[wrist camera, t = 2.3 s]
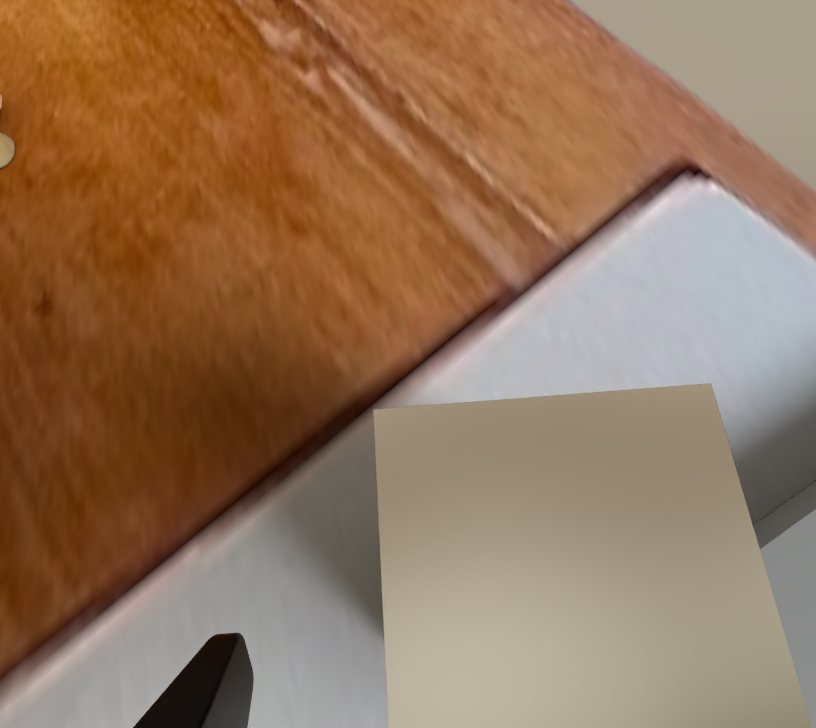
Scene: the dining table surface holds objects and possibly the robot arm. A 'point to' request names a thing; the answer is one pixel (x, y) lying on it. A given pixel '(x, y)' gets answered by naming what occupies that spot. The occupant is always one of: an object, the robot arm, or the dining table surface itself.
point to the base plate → (794, 582)
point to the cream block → (575, 567)
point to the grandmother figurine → (5, 146)
